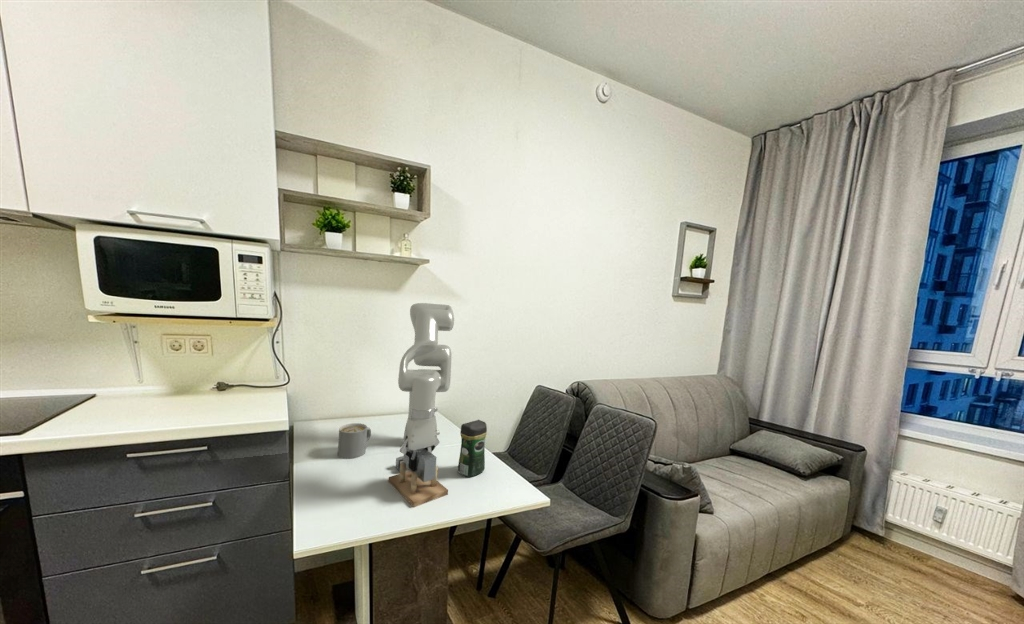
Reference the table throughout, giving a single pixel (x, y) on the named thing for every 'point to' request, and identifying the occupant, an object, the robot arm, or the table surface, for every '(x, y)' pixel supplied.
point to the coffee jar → (472, 448)
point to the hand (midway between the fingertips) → (418, 467)
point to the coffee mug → (353, 440)
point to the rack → (416, 487)
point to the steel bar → (423, 464)
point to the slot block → (400, 460)
